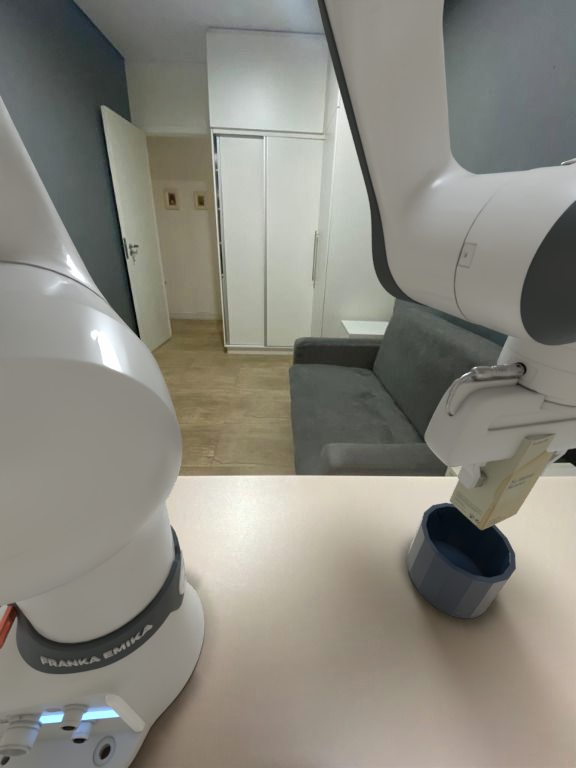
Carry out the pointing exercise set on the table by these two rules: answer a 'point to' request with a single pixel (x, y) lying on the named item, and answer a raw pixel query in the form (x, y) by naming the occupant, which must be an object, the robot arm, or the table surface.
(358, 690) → the table surface
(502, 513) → the cosmetic box
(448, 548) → the blue round bowl
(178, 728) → the table surface
